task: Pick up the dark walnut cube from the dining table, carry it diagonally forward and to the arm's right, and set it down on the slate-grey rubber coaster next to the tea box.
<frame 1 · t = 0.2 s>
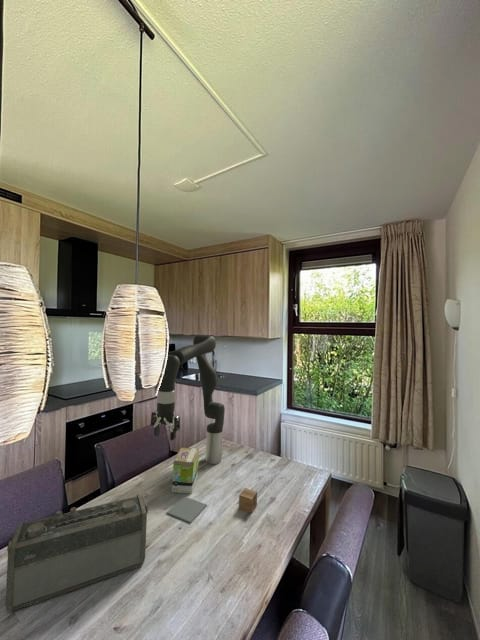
hand: (164, 437, 121), 29 cm above the table, fingers open, 8 cm apart
coaster: (187, 509, 119), on the table
radio: (82, 571, 88), on the table
walnut cube: (247, 507, 122), on the table
tea box: (185, 484, 137), on the table
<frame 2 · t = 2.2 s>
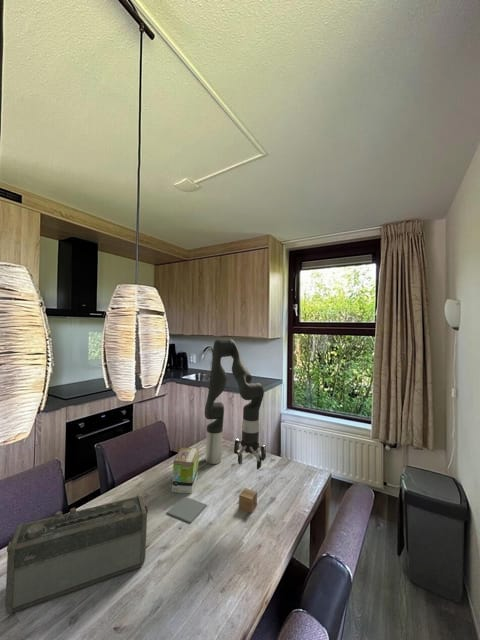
hand: (249, 466, 122), 18 cm above the table, fingers open, 8 cm apart
nothing on the table moved.
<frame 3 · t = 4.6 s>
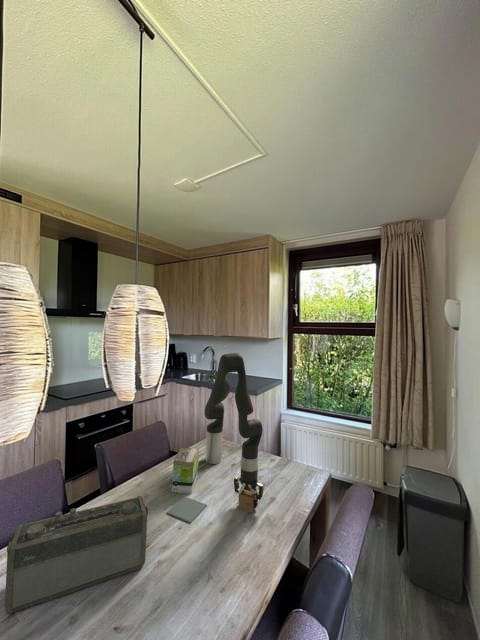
hand: (247, 504, 122), 1 cm above the table, fingers closed on walnut cube, 6 cm apart
walnut cube: (247, 507, 122), on the table, touching gripper
everything else where it was.
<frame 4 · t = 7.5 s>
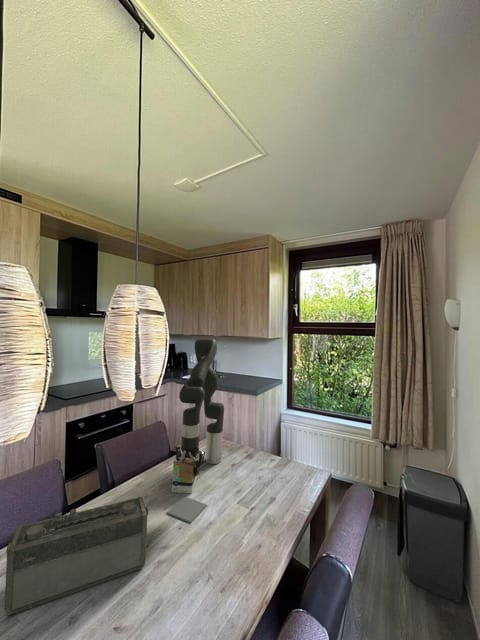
hand: (189, 473, 119), 15 cm above the table, fingers closed on walnut cube, 6 cm apart
walnut cube: (188, 475, 119), point 14 cm above the table, touching gripper
everything else where it was.
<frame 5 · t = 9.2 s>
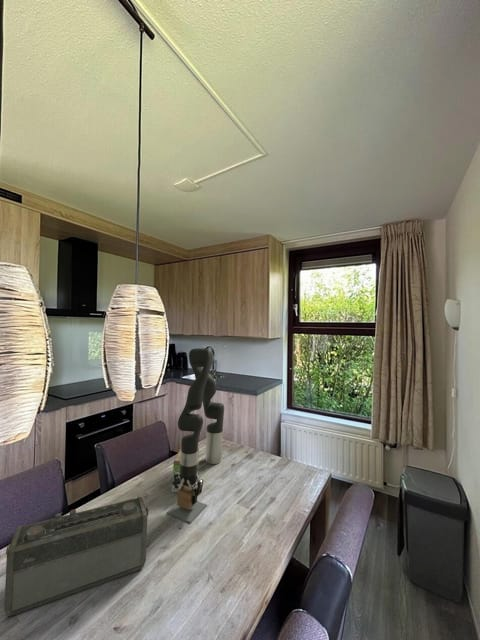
hand: (187, 501, 119), 4 cm above the table, fingers closed on walnut cube, 6 cm apart
walnut cube: (187, 503, 118), point 3 cm above the table, touching gripper
when the fingers open (2 cm above the table, at t = 10.4 s): walnut cube stays where it is, resting on coaster.
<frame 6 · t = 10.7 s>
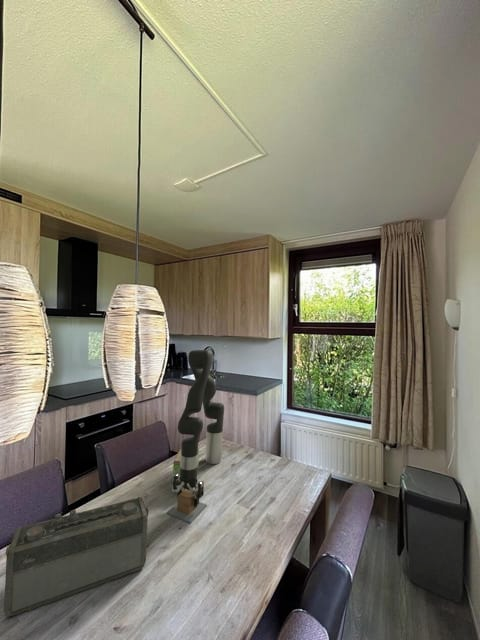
hand: (187, 502, 119), 3 cm above the table, fingers open, 8 cm apart
walnut cube: (187, 508, 119), point 1 cm above the table, touching coaster
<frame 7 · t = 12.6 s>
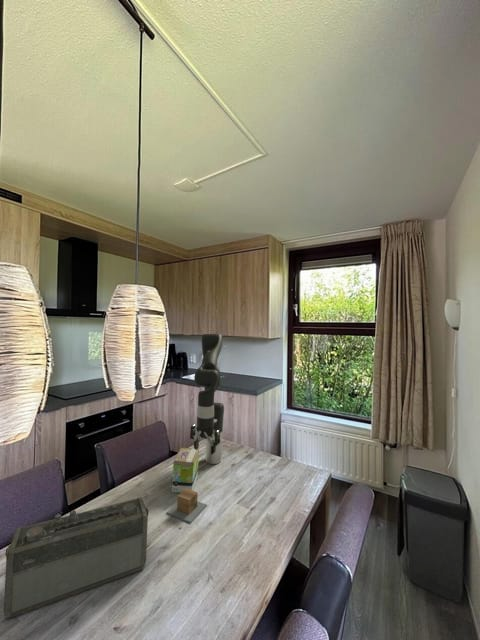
hand: (204, 451, 123), 23 cm above the table, fingers open, 8 cm apart
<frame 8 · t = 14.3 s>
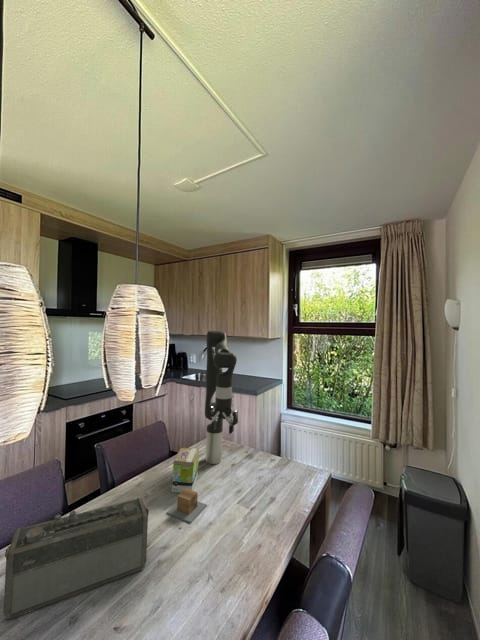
hand: (222, 431, 128), 30 cm above the table, fingers open, 8 cm apart
at the end: walnut cube inside the target area on the coaster (0.0 cm from its centre), point 0.6 cm above the coaster's base; walnut cube tilted 0°; the gripper is holding nothing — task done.
